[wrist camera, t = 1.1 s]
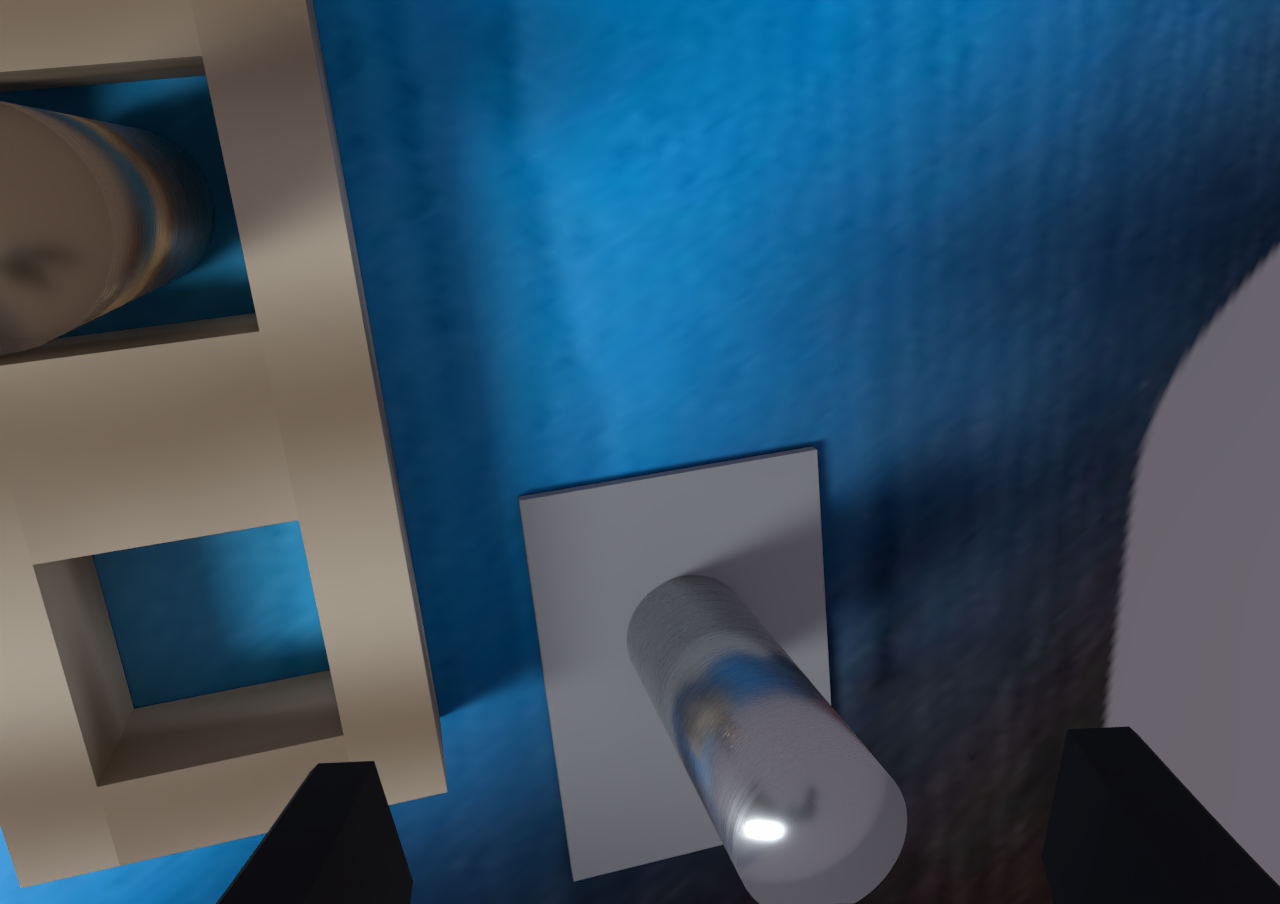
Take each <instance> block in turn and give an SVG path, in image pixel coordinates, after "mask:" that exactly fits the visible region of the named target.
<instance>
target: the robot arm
mask: <svg viewBox="0 0 1280 904" xmlns="http://www.w3.org/2000/svg"><path fill="white" fill-rule="evenodd" d="M1042 859H1043V863H1044V867H1045V870H1046V874H1047V878H1048V882H1049V886H1050V890H1051V893H1052V897H1053V901H1054V904H1280V886H1279V885H1278V884H1277V883H1276V882H1275V881H1274V880H1273V879H1272V878H1271V877H1270V876H1269V875H1268V874H1267V873H1266V872H1265V871H1264V870H1263V869H1262V868H1261V867H1260V866H1259V865H1258V864H1257V863H1256V862H1255V861H1254V860H1253V858H1252V857H1251V856H1250V855H1249V854H1248V853H1247V852H1246V851H1245V850H1244V849H1243V848H1242V847H1241V846H1240V845H1239V844H1238V843H1237V842H1236V841H1235V840H1234V838H1233V837H1232V836H1230V834H1229V833H1228V832H1227V831H1226V830H1225V829H1224V828H1223V827H1222V826H1221V825H1220V824H1219V822H1218V821H1217V820H1216V819H1215V818H1214V817H1213V816H1212V815H1211V814H1210V813H1209V812H1208V811H1207V810H1206V809H1205V808H1204V806H1203V805H1202V804H1201V803H1200V802H1199V801H1198V800H1197V799H1196V798H1195V797H1194V796H1193V795H1192V793H1191V792H1190V791H1189V790H1188V789H1187V788H1186V787H1185V786H1184V785H1183V784H1182V783H1181V782H1180V780H1179V779H1178V778H1177V777H1176V776H1175V775H1174V774H1173V773H1172V772H1171V770H1169V768H1168V767H1167V766H1166V765H1165V764H1164V763H1163V762H1162V761H1161V759H1159V757H1158V756H1157V755H1156V754H1155V753H1154V752H1153V751H1152V750H1151V748H1150V747H1149V746H1148V745H1147V744H1146V743H1145V742H1144V741H1143V740H1142V739H1141V738H1140V737H1139V735H1138V734H1136V733H1135V732H1134V731H1133V730H1132V729H1131V728H1130V727H1111V728H1089V729H1068V730H1067V735H1066V740H1065V745H1064V750H1063V755H1062V760H1061V765H1060V770H1059V775H1058V780H1057V785H1056V790H1055V795H1054V800H1053V805H1052V810H1051V815H1050V820H1049V825H1048V830H1047V835H1046V840H1045V845H1044V850H1043V855H1042ZM412 884H413V880H412V877H411V874H410V871H409V868H408V865H407V861H406V858H405V855H404V852H403V849H402V846H401V843H400V840H399V837H398V833H397V830H396V827H395V824H394V821H393V818H392V815H391V812H390V809H389V805H388V802H387V799H386V796H385V793H384V790H383V787H382V784H381V781H380V777H379V774H378V771H377V768H376V765H375V762H374V761H359V762H337V763H318V764H317V765H316V766H315V767H314V768H313V769H312V770H311V771H310V772H309V774H308V775H307V777H306V778H305V780H304V781H303V782H302V784H301V785H300V787H299V788H298V790H297V791H296V792H295V794H294V795H293V797H292V798H291V800H290V801H289V802H288V804H287V805H286V807H285V808H284V810H283V811H282V813H281V814H280V815H279V817H278V818H277V820H276V821H275V823H274V824H273V825H272V827H271V828H270V830H269V831H268V832H267V834H266V835H265V837H264V838H263V840H262V841H261V842H260V844H259V845H258V847H257V848H256V849H255V851H254V852H253V854H252V855H251V856H250V858H249V859H248V861H247V862H246V863H245V865H244V866H243V867H242V869H241V870H240V872H239V873H238V874H237V876H236V877H235V879H234V880H233V881H232V883H231V884H230V885H229V887H228V888H227V890H226V891H225V892H224V894H223V895H222V896H221V898H220V899H219V900H218V902H217V903H216V904H410V900H411V892H412Z"/></svg>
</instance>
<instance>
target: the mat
mask: <svg viewBox="0 0 1280 904" xmlns="http://www.w3.org/2000/svg"><path fill="white" fill-rule="evenodd" d="M518 501H519V508H520V515H521V522H522V529H523V536H524V543H525V550H526V557H527V564H528V571H529V578H530V585H531V592H532V599H533V606H534V613H535V620H536V627H537V634H538V641H539V648H540V655H541V662H542V669H543V676H544V683H545V690H546V697H547V704H548V711H549V718H550V725H551V732H552V739H553V746H554V753H555V760H556V767H557V774H558V781H559V788H560V795H561V802H562V809H563V816H564V823H565V830H566V837H567V844H568V850H569V857H570V864H571V871H572V876H573V880H574V881H578V880H582V879H586V878H590V877H594V876H598V875H602V874H606V873H610V872H614V871H618V870H622V869H626V868H630V867H634V866H638V865H642V864H647V863H651V862H655V861H659V860H663V859H667V858H671V857H675V856H679V855H683V854H687V853H691V852H695V851H699V850H703V849H707V848H711V847H715V846H719V845H723V843H722V841H721V839H720V837H719V835H718V833H717V831H716V829H715V827H714V825H713V823H712V821H711V819H710V817H709V815H708V813H707V811H706V809H705V807H704V805H703V803H702V801H701V799H700V797H699V795H698V793H697V791H696V789H695V787H694V785H693V783H692V781H691V779H690V777H689V775H688V773H687V771H686V769H685V767H684V765H683V763H682V762H681V760H680V758H679V756H678V754H677V752H676V750H675V748H674V746H673V744H672V742H671V740H670V738H669V736H668V734H667V732H666V730H665V728H664V726H663V724H662V722H661V720H660V718H659V716H658V714H657V712H656V710H655V708H654V706H653V704H652V702H651V700H650V698H649V696H648V694H647V692H646V690H645V688H644V686H643V684H642V682H641V680H640V678H639V676H638V674H637V673H636V671H635V669H634V667H633V665H632V663H631V660H630V657H629V655H628V650H627V631H628V626H629V623H630V620H631V617H632V615H633V613H634V611H635V609H636V608H637V606H638V605H639V603H640V602H641V601H642V600H643V599H644V597H645V596H646V595H647V594H649V593H650V592H651V591H652V590H653V589H655V588H656V587H657V586H659V585H661V584H663V583H664V582H666V581H669V580H671V579H674V578H677V577H681V576H687V575H702V576H708V577H712V578H715V579H717V580H720V581H722V582H723V583H725V584H727V585H728V586H729V587H730V588H732V589H733V590H734V591H735V592H736V594H737V595H738V596H739V597H740V598H741V599H742V601H743V602H744V603H745V604H746V605H747V607H748V608H749V609H750V610H751V611H752V613H753V614H754V615H755V616H756V617H757V618H758V620H759V621H760V622H761V623H762V624H763V626H764V627H765V628H766V629H767V630H768V632H769V633H770V634H771V635H772V636H773V637H774V639H775V640H776V641H777V642H778V643H779V645H780V646H781V647H782V648H783V649H784V651H785V652H786V653H787V654H788V655H789V656H790V658H791V659H792V660H793V661H794V662H795V664H796V665H797V666H798V667H799V668H800V670H801V671H802V672H803V673H804V674H805V676H806V677H807V678H808V679H809V680H810V681H811V683H812V684H813V685H814V686H815V687H816V689H817V690H818V691H819V692H820V693H821V695H822V696H823V697H824V698H825V699H826V700H827V702H828V703H829V704H830V705H831V695H830V677H829V659H828V640H827V622H826V604H825V586H824V568H823V549H822V531H821V513H820V495H819V477H818V458H817V449H815V448H814V447H806V448H800V449H794V450H788V451H783V452H777V453H771V454H765V455H759V456H753V457H748V458H742V459H736V460H730V461H724V462H718V463H712V464H707V465H701V466H695V467H689V468H683V469H677V470H672V471H666V472H660V473H654V474H648V475H642V476H637V477H631V478H625V479H619V480H613V481H607V482H602V483H596V484H590V485H584V486H578V487H572V488H566V489H561V490H555V491H549V492H543V493H537V494H531V495H526V496H520V497H518Z"/></svg>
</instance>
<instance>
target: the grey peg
mask: <svg viewBox="0 0 1280 904" xmlns="http://www.w3.org/2000/svg"><path fill="white" fill-rule="evenodd" d="M627 650H628V655H629V657H630V660H631V663H632V665H633V667H634V669H635V671H636V673H637V674H638V676H639V678H640V680H641V682H642V684H643V686H644V688H645V690H646V692H647V694H648V696H649V698H650V700H651V702H652V704H653V706H654V708H655V710H656V712H657V714H658V716H659V718H660V720H661V722H662V724H663V726H664V728H665V730H666V732H667V734H668V736H669V738H670V740H671V742H672V744H673V746H674V748H675V750H676V752H677V754H678V756H679V758H680V760H681V762H682V763H683V765H684V767H685V769H686V771H687V773H688V775H689V777H690V779H691V781H692V783H693V785H694V787H695V789H696V791H697V793H698V795H699V797H700V799H701V801H702V803H703V805H704V807H705V809H706V811H707V813H708V815H709V817H710V819H711V821H712V823H713V825H714V827H715V829H716V831H717V833H718V835H719V837H720V839H721V841H722V843H723V845H724V847H725V849H726V851H727V852H728V854H729V856H730V858H731V860H732V862H733V864H734V866H735V868H736V870H737V872H738V874H739V876H740V878H741V880H742V882H743V884H744V886H745V888H746V889H747V891H748V892H749V893H750V895H751V896H752V897H753V898H754V899H755V900H756V901H757V902H758V903H759V904H854V903H856V902H858V901H859V900H861V899H862V898H863V897H865V896H866V895H868V894H869V893H870V892H871V891H872V890H873V889H874V888H876V887H877V886H878V885H879V884H880V882H881V881H882V880H883V879H884V878H885V877H886V876H887V874H888V873H889V871H890V870H891V869H892V867H893V865H894V864H895V862H896V860H897V859H898V856H899V854H900V852H901V850H902V847H903V843H904V840H905V836H906V830H907V811H906V805H905V801H904V798H903V796H902V793H901V791H900V789H899V787H898V786H897V784H896V783H895V781H894V780H893V779H892V778H891V777H890V775H889V774H888V773H887V772H886V771H885V769H884V768H883V767H882V766H881V765H880V764H879V762H878V761H877V760H876V759H875V758H874V756H873V755H872V754H871V753H870V752H869V750H868V749H867V748H866V747H865V746H864V744H863V743H862V742H861V741H860V740H859V739H858V737H857V736H856V735H855V734H854V733H853V731H852V730H851V729H850V728H849V727H848V725H847V724H846V723H845V722H844V721H843V720H842V718H841V717H840V716H839V715H838V714H837V712H836V711H835V710H834V709H833V708H832V706H831V705H830V704H829V703H828V702H827V700H826V699H825V698H824V697H823V696H822V695H821V693H820V692H819V691H818V690H817V689H816V687H815V686H814V685H813V684H812V683H811V681H810V680H809V679H808V678H807V677H806V676H805V674H804V673H803V672H802V671H801V670H800V668H799V667H798V666H797V665H796V664H795V662H794V661H793V660H792V659H791V658H790V656H789V655H788V654H787V653H786V652H785V651H784V649H783V648H782V647H781V646H780V645H779V643H778V642H777V641H776V640H775V639H774V637H773V636H772V635H771V634H770V633H769V632H768V630H767V629H766V628H765V627H764V626H763V624H762V623H761V622H760V621H759V620H758V618H757V617H756V616H755V615H754V614H753V613H752V611H751V610H750V609H749V608H748V607H747V605H746V604H745V603H744V602H743V601H742V599H741V598H740V597H739V596H738V595H737V594H736V592H735V591H734V590H733V589H732V588H730V587H729V586H728V585H727V584H725V583H723V582H722V581H720V580H717V579H715V578H712V577H708V576H702V575H687V576H681V577H677V578H674V579H671V580H669V581H666V582H664V583H663V584H661V585H659V586H657V587H656V588H655V589H653V590H652V591H651V592H650V593H649V594H647V595H646V596H645V597H644V599H643V600H642V601H641V602H640V603H639V605H638V606H637V608H636V609H635V611H634V613H633V615H632V617H631V620H630V623H629V626H628V631H627Z"/></svg>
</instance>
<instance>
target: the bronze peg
mask: <svg viewBox="0 0 1280 904" xmlns="http://www.w3.org/2000/svg"><path fill="white" fill-rule="evenodd" d="M214 223H215V209H214V202H213V197H212V194H211V190H210V188H209V185H208V183H207V181H206V179H205V177H204V175H203V173H202V172H201V170H200V169H199V167H198V166H197V165H196V163H195V162H194V161H193V160H192V159H191V158H190V157H189V156H188V155H187V153H186V152H184V151H183V150H182V149H181V148H179V147H178V146H177V145H176V144H174V143H172V142H171V141H169V140H168V139H166V138H164V137H162V136H160V135H158V134H156V133H153V132H150V131H147V130H144V129H139V128H135V127H130V126H125V125H120V124H114V123H109V122H104V121H99V120H94V119H89V118H84V117H79V116H74V115H69V114H64V113H59V112H53V111H48V110H43V109H38V108H33V107H28V106H23V105H18V104H13V103H8V102H3V101H0V354H10V353H15V352H20V351H25V350H28V349H31V348H34V347H37V346H40V345H42V344H45V343H47V342H49V341H51V340H53V339H55V338H57V337H59V336H61V335H63V334H65V333H67V332H69V331H71V330H73V329H75V328H77V327H79V326H82V325H84V324H86V323H88V322H90V321H92V320H94V319H96V318H98V317H100V316H102V315H104V314H106V313H108V312H110V311H112V310H114V309H116V308H118V307H120V306H122V305H124V304H126V303H128V302H130V301H132V300H134V299H136V298H139V297H141V296H143V295H145V294H147V293H149V292H151V291H153V290H155V289H157V288H159V287H161V286H163V285H165V284H167V283H169V282H171V281H173V280H175V279H177V278H179V277H181V276H182V275H184V274H185V273H187V272H188V271H189V270H190V269H191V268H193V267H194V266H195V265H196V264H197V262H198V261H199V260H200V259H201V258H202V256H203V255H204V253H205V251H206V250H207V248H208V245H209V243H210V241H211V238H212V234H213V230H214Z"/></svg>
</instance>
